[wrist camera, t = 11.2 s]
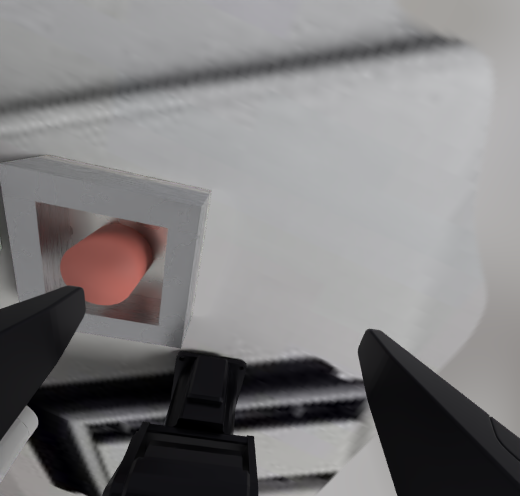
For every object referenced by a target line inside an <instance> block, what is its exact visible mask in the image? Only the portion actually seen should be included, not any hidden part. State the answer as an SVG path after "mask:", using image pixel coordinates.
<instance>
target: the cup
mask: <svg viewBox="0 0 520 496" xmlns="http://www.w3.org/2000/svg"><path fill="white" fill-rule="evenodd" d="M37 426H38V418H37V416H36V414H35V413H34V412H33V411H32V410H31V409H30V408H29V407H28V406H25V408H24V409H23V411H22V412H21V413H20V415H19V416H18V418H17V419H16V420H15V422H14V423H13V424H12V426H11V427H10V429H9V430H8V431H7V433H6V434H5V435H4V437H3V438H2V440H1V441H0V483H1V481H2V480H3V478H4V476H5V475H6V473H7V472H8V470H9V469H10V467H11V465H12V464H13V462H14V461H15V459H16V457H17V456H18V454H19V453H20V451H21V450H22V448H23V446H24V445H25V443H26V442H27V440H28V439H29V438H30V436H31V435H32V433H33V432H34V431H35V429H36V428H37Z"/></svg>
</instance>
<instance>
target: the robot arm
mask: <svg viewBox="0 0 520 496" xmlns="http://www.w3.org/2000/svg"><path fill="white" fill-rule="evenodd" d="M85 312H86V305H85V294H84V289H83V288H82V287H78V286H71V285H67V286H64V287H61V288H58V289H56V290H53V291H50V292H47V293H44V294H42V295H39V296H36V297H33V298H30V299H28V300H25V301H22V302H19V303H16V304H14V305H11V306H8V307H5V308H2V309H0V441H1V440H2V438H3V437H4V435H5V434H6V433H7V431H8V430H9V429H10V427H11V426H12V424H13V423H14V422H15V420H16V419H17V418H18V416H19V415H20V413H21V412H22V411H23V409H24V408H25V406H26V405H27V404H28V402H29V401H30V400H31V398H32V397H33V395H34V394H35V393H36V391H37V390H38V389H39V387H40V386H41V384H42V383H43V382H44V380H45V379H46V378H47V376H48V375H49V373H50V372H51V371H52V369H53V368H54V366H55V365H56V364H57V362H58V361H59V359H60V357H61V356H62V354H63V352H64V351H65V349H66V347H67V345H68V344H69V342H70V340H71V338H72V337H73V335H74V333H75V332H76V330H77V328H78V326H79V325H80V323H81V321H82V319H83V318H84V315H85ZM358 356H359V361H360V366H361V371H362V376H363V381H364V386H365V391H366V395H367V399H368V403H369V406H370V410H371V413H372V416H373V419H374V422H375V426H376V429H377V432H378V435H379V438H380V442H381V445H382V448H383V451H384V454H385V457H386V461H387V464H388V467H389V470H390V474H391V477H392V480H393V483H394V486H395V490H396V493H397V496H520V438H519V437H517V436H516V435H515V434H513V433H512V432H511V431H509V430H508V429H507V428H506V427H504V426H503V425H501V424H500V423H499V422H498V421H496V420H495V419H494V418H493V417H489V415H488V414H487V413H486V412H485V411H484V410H482V409H481V408H480V407H478V406H477V405H476V404H475V403H473V402H472V401H471V400H469V399H468V398H467V397H465V396H464V395H463V394H461V393H460V392H459V391H458V390H457V389H455V388H454V387H453V386H451V385H450V384H449V383H448V382H446V381H445V380H443V379H442V378H441V377H440V376H439V375H437V374H436V373H435V372H433V371H432V370H431V369H429V368H428V367H427V366H426V365H424V364H423V363H422V362H420V361H419V360H418V359H417V358H415V357H414V356H413V355H411V354H410V353H409V352H408V351H406V350H405V349H404V348H402V347H401V346H400V345H399V344H397V343H396V342H395V341H393V340H392V339H391V338H390V337H388V336H387V335H386V334H384V333H383V332H382V331H380V330H375V329H367V330H366V331H365V334H364V336H363V338H362V340H361V343H360V345H359V348H358ZM182 357H184V358H182ZM240 366H242V367H240ZM245 372H246V363H245V362H244V361H239V360H233V359H226V358H220V357H214V356H208V355H201V354H195V353H189V352H179V353H178V355H177V358H176V365H175V372H174V379H173V387H172V394H171V403H170V406H169V410H168V413H167V416H166V419H165V423H164V426H163V425H156V424H150V422H144V421H143V423H142V425H141V427H140V429H139V431H136V433H135V435H133V436H132V439H131V441H130V444H129V446H128V449H127V451H126V454H125V456H124V458H123V460H122V462H121V464H120V465H119V467H118V468H117V470H116V472H115V473H114V475H113V476H112V478H111V479H110V481H109V483H108V484H107V486H106V488H105V490H104V492H103V495H102V496H258V479H257V467H256V455H255V444H254V436H248V435H247V437H245V436H238V435H233V432H234V419H235V407H236V404H237V400H238V397H239V393H240V390H241V386H242V383H243V379H244V376H245Z"/></svg>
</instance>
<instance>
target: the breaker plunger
mask: <svg viewBox="0 0 520 496" xmlns="http://www.w3.org/2000/svg"><path fill="white" fill-rule="evenodd" d="M151 263H152V250H151V247H150V245H149V243H148V241H147V240H146V239H145V237H144V236H143V235H142V234H141V233H139V232H138V231H137V230H135V229H133V228H131V227H129V226H126V225H122V224H108V225H105V226H102V227H101V228H99V229H97V230H96V231H94V232H93V233H92V234H90V235H89V236H87V237H86V238H84V239H83V240H81V241H80V242H78V243H77V244H75V245H74V246H72V247H71V248H70V249H68V250H67V251H66V252H65V254H64V255H63V257H62V259H61V263H60V271H61V275H62V278H63V280H64V282H65V284H66V285H71V286H78V287H82V288H83V289H84V294H85V301H87V302H90V303H93V304H97V305H114V304H117V303H120V302H122V301H124V300H125V299H126V298H127V297H128V296H129V295H130V294H131V293H132V291H133V290H134V288H135V287H136V286H137V284H138V283H139V282H140V280H141V279H142V277H143V276H144V275H145V273H146V272H147V271H148V269H149V268H150V266H151Z"/></svg>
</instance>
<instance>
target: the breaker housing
mask: <svg viewBox="0 0 520 496" xmlns="http://www.w3.org/2000/svg"><path fill="white" fill-rule="evenodd" d="M0 183H1V190H2V196H3V203H4V209H5V215H6V222H7V228H8V234H9V241H10V247H11V254H12V260H13V266H14V273H15V279H16V286H17V292H18V298H19V302H22V301H25V300H28V299H30V298H33V297H36V296H39V295H42V294H44V293H47V292H50V291H53V290H56V289H58V288H61V287H64V286H67V285H66V284H65V282H64V280H63V278H62V275H61V271H60V263H61V259H62V257H63V255H64V254H65V252H66V251H67V250H68V249H70V248H71V247H72V246H74V245H75V244H77V243H78V242H80V241H81V240H83V239H84V238H86V237H87V236H89V235H90V234H92V233H93V232H94V231H96V230H97V229H99V228H101V227H102V226H105V225H108V224H122V225H126V226H129V227H131V228H133V229H135V230H137V231H138V232H139V233H141V234H142V235H143V236H144V237H145V239H146V240H147V241H148V243H149V245H150V247H151V250H152V263H151V266H150V268H149V269H148V271H147V272H146V273H145V275H144V276H143V277H142V279H141V280H140V282H139V283H138V284H137V286H136V287H135V288H134V290H133V291H132V293H131V294H130V295H129V296H128V297H127V298H126V299H125V300H124V301H122V302H120V303H117V304H114V305H97V304H93V303H90V302H87V301H85V305H86V312H85V315H84V318H83V319H82V321H81V323H80V325H79V326H78V328H77V330H76V332H82V333H88V334H94V335H101V336H107V337H113V338H119V339H126V340H132V341H138V342H144V343H150V344H157V345H163V346H169V347H175V348H181V347H182V344H183V341H184V338H185V335H186V332H187V329H188V326H189V323H190V320H191V317H192V314H193V307H194V301H195V295H196V288H197V282H198V275H199V269H200V262H201V256H202V250H203V243H204V237H205V230H206V224H207V217H208V211H209V205H210V198H211V192H212V191H211V190H206V189H202V188H197V187H192V186H188V185H183V184H179V183H174V182H170V181H165V180H160V179H156V178H151V177H147V176H142V175H138V174H133V173H129V172H124V171H119V170H115V169H110V168H106V167H101V166H97V165H92V164H88V163H83V162H78V161H74V160H69V159H65V158H60V157H56V156H51V155H44V156H38V157H32V158H26V159H20V160H14V161H7V162H1V163H0Z"/></svg>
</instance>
